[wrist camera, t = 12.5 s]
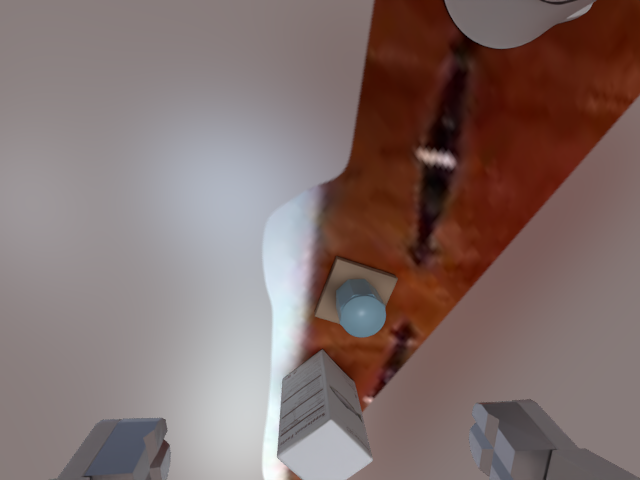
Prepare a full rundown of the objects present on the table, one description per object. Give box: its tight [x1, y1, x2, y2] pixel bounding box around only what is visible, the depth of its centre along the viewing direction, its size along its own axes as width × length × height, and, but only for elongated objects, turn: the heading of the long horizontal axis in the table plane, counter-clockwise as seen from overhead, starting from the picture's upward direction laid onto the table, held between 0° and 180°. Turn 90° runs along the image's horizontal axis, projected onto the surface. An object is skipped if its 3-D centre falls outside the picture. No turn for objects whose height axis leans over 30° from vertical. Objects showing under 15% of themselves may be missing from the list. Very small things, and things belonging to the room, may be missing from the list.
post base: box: [315, 256, 397, 324], centre depth 42 cm, size 8×8×4 cm
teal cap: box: [336, 279, 386, 337], centre depth 41 cm, size 5×5×5 cm
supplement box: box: [277, 349, 373, 480], centre depth 42 cm, size 7×7×13 cm
